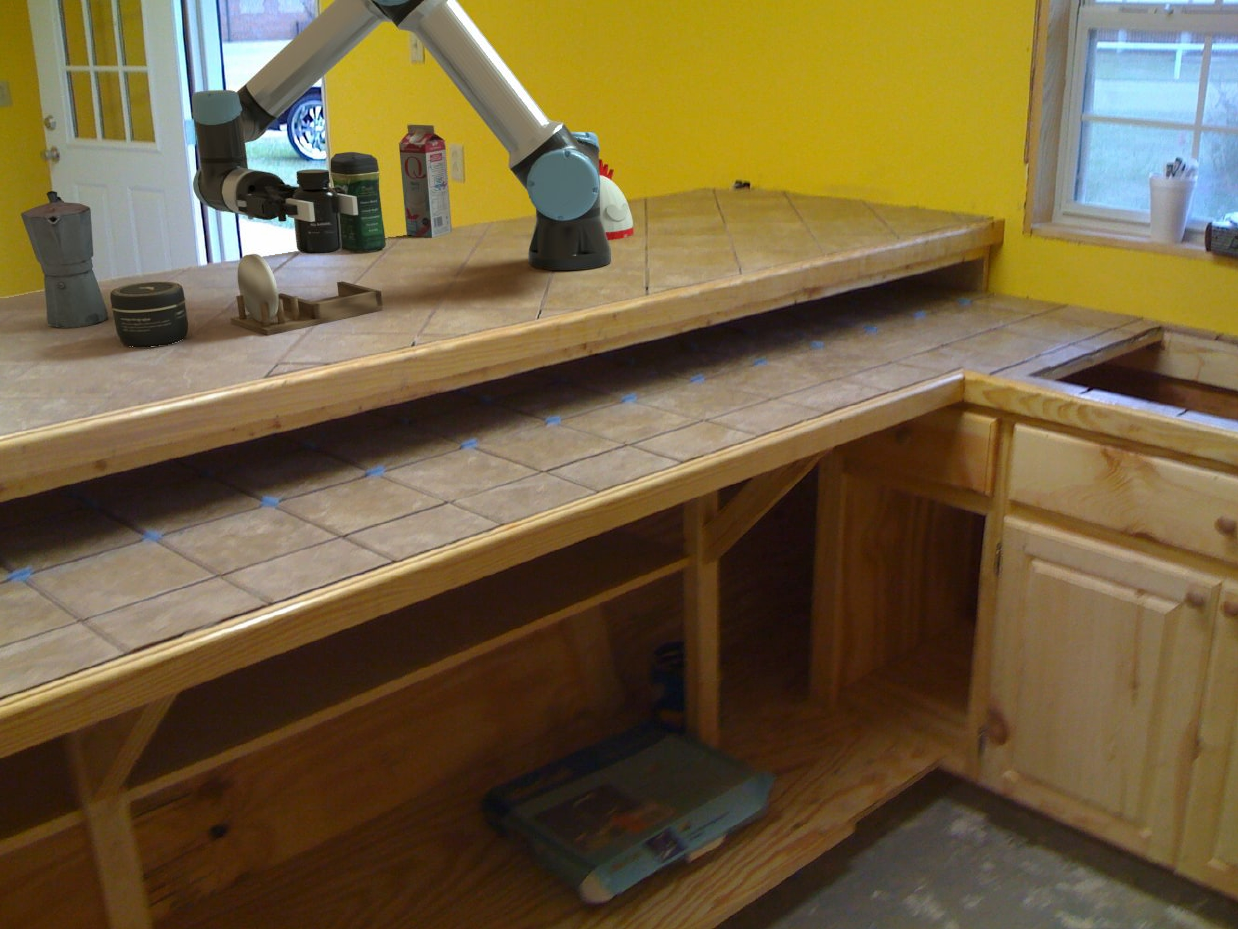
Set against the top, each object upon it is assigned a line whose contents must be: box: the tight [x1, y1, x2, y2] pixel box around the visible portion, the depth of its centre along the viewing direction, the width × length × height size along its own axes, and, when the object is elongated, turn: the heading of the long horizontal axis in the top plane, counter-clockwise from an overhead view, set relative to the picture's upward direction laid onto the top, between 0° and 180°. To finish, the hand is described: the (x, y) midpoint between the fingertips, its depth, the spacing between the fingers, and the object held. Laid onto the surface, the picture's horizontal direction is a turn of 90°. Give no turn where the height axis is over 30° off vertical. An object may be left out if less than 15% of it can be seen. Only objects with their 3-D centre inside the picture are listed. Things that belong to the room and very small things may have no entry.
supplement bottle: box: [292, 168, 342, 255], centre depth 181 cm, size 7×7×12 cm
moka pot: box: [20, 190, 109, 328], centre depth 181 cm, size 10×15×20 cm, turn 24°
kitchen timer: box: [599, 158, 634, 241], centre depth 241 cm, size 14×14×15 cm
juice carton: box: [398, 124, 453, 239], centre depth 244 cm, size 7×7×22 cm
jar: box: [109, 281, 189, 348], centre depth 171 cm, size 10×10×8 cm
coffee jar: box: [330, 151, 387, 253], centre depth 231 cm, size 10×8×19 cm
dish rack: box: [230, 253, 384, 336], centre depth 182 cm, size 20×11×11 cm, turn 135°
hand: (333, 208), depth 177 cm, fingers closed on supplement bottle, 7 cm apart
